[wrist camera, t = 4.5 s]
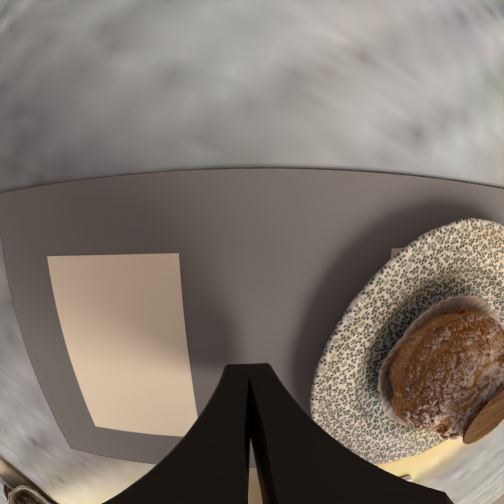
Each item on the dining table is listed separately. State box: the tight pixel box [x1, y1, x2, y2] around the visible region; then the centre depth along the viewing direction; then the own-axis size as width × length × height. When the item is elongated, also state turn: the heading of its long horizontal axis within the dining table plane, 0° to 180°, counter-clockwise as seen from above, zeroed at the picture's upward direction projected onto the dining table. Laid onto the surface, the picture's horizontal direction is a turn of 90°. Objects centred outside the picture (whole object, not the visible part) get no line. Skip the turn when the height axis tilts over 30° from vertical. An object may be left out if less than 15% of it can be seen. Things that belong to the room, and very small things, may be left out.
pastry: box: [310, 218, 504, 464], centre depth 9 cm, size 12×12×5 cm
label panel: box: [0, 169, 504, 467], centre depth 11 cm, size 13×26×1 cm, turn 91°
